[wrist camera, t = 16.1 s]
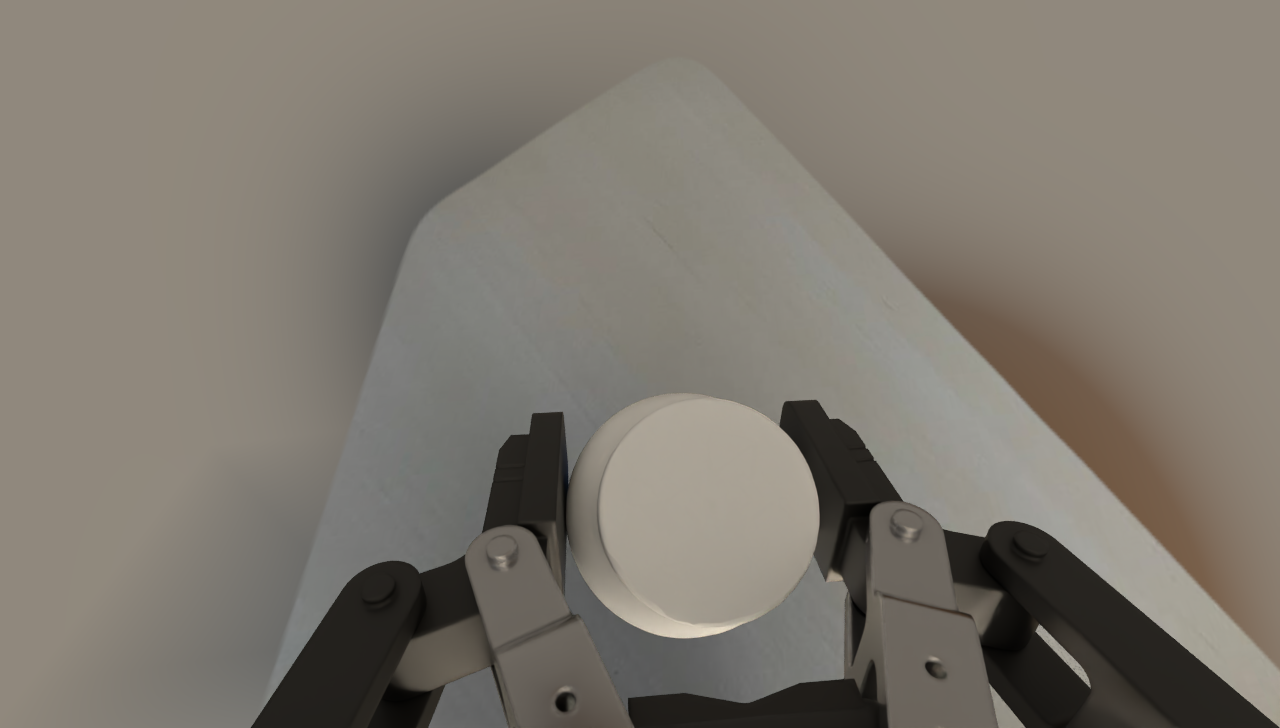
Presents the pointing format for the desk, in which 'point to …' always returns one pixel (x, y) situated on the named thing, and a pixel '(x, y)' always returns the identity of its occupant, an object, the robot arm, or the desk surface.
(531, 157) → the desk surface
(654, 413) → the pill bottle
